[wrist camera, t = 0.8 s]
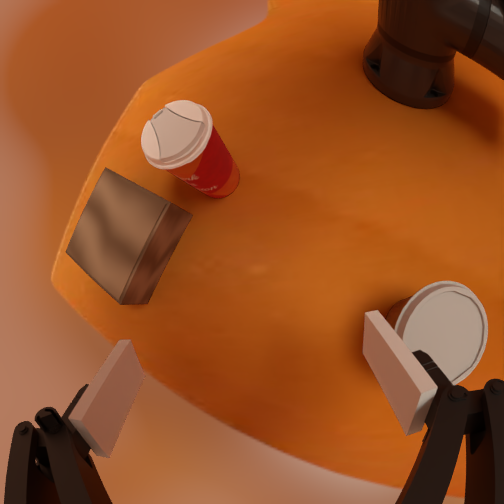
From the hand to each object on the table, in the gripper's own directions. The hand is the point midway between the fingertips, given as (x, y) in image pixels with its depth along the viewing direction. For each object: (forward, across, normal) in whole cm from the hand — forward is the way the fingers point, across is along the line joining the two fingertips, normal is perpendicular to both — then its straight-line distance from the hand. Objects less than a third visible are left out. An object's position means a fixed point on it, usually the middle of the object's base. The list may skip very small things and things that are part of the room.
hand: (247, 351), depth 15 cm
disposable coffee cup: (+13, +18, -10) cm, 24 cm away
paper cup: (+26, -3, +8) cm, 28 cm away
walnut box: (+26, -17, +2) cm, 31 cm away
